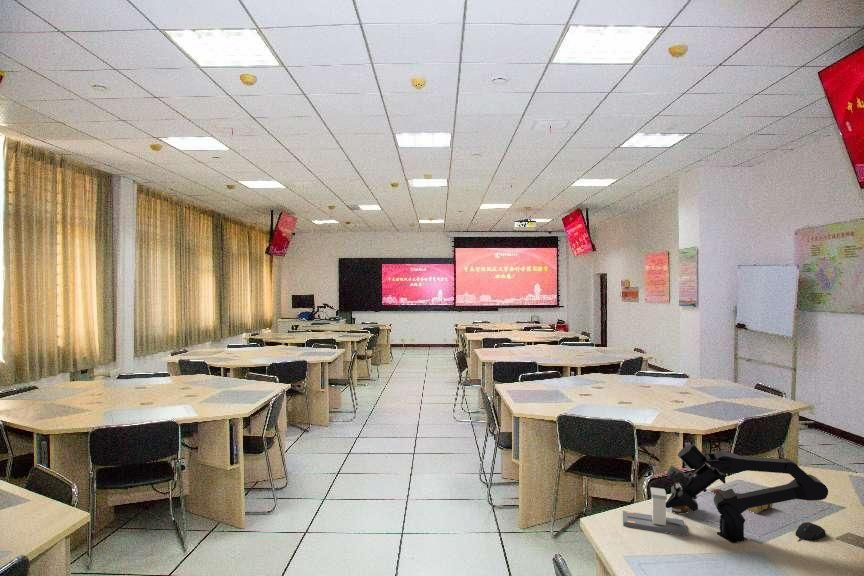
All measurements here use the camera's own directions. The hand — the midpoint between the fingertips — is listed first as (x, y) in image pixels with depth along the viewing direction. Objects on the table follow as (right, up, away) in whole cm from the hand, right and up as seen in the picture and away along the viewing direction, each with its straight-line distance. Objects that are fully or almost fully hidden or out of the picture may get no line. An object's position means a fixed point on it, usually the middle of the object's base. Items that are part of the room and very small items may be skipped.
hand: (665, 506), depth 165 cm
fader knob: (-2, -5, +1) cm, 6 cm away
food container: (+13, -8, +13) cm, 20 cm away
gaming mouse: (+45, -8, -6) cm, 46 cm away
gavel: (+39, -8, +21) cm, 45 cm away
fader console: (-4, -7, +1) cm, 8 cm away
